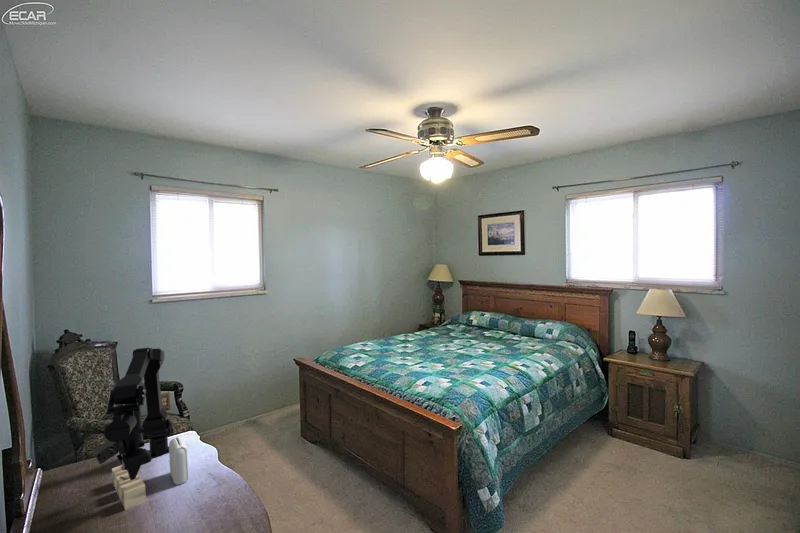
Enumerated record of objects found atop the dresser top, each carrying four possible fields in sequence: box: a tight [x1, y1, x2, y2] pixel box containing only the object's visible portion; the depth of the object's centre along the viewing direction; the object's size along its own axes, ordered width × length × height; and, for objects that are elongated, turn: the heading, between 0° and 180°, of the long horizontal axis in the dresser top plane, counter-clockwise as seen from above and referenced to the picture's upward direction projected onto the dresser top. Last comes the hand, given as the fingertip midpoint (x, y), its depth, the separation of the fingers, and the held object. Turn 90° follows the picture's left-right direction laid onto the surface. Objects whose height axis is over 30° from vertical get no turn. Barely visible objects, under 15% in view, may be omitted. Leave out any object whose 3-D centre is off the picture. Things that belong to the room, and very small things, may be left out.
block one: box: [111, 464, 128, 489], centre depth 120 cm, size 5×5×5 cm
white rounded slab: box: [168, 436, 189, 485], centre depth 122 cm, size 10×4×12 cm, turn 39°
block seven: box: [116, 472, 141, 501], centre depth 115 cm, size 5×5×5 cm
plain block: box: [120, 478, 147, 511], centre depth 110 cm, size 5×5×5 cm
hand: (132, 479), depth 110 cm, fingers closed
